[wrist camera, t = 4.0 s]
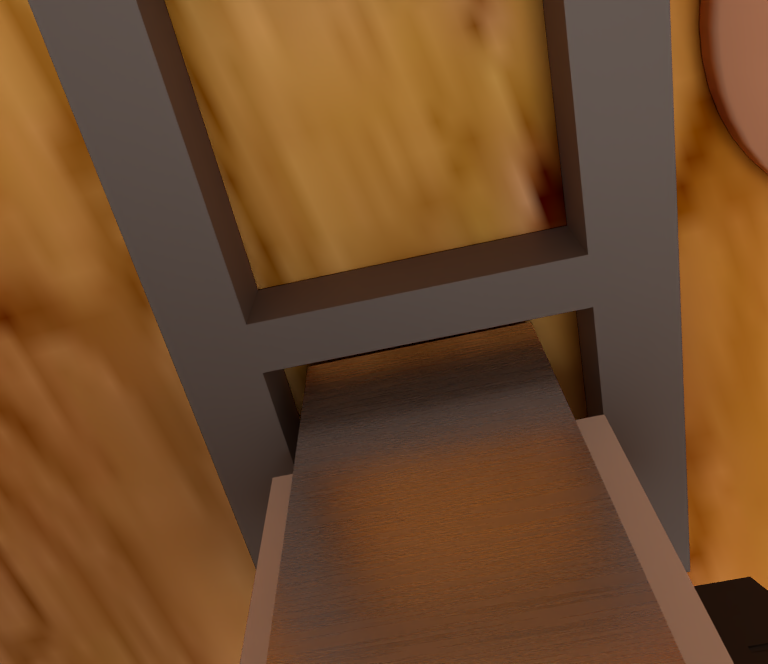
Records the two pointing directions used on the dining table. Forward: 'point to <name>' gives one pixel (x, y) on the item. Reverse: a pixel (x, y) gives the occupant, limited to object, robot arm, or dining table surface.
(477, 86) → the dining table surface
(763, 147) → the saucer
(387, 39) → the dining table surface
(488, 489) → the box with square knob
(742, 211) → the dining table surface
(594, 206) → the grey double frame
